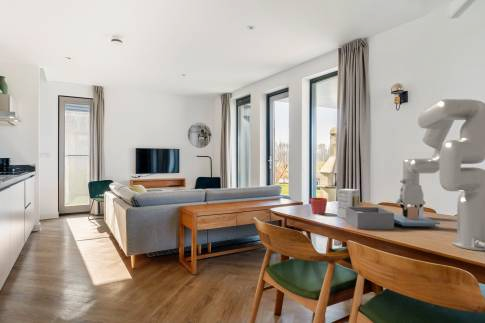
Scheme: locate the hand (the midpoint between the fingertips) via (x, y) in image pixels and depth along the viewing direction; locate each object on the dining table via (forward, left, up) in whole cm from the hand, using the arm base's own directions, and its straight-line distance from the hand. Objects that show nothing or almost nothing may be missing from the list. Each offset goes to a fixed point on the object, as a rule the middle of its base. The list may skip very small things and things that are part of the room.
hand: (410, 216), depth 159 cm
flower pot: (+32, +41, -5) cm, 52 cm away
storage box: (0, +22, -5) cm, 22 cm away
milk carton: (+22, -14, -5) cm, 27 cm away
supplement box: (+20, +26, -5) cm, 33 cm away
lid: (0, 0, -3) cm, 3 cm away
